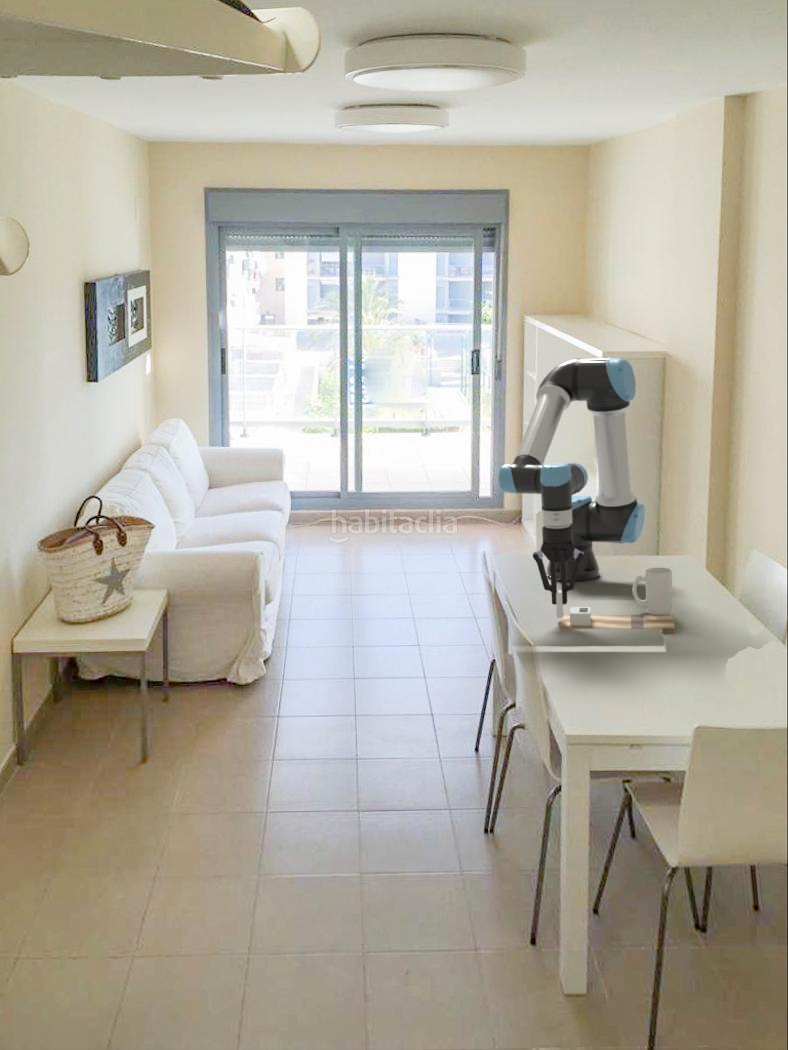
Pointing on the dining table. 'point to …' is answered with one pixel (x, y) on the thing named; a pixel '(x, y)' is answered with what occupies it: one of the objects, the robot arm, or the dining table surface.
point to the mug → (656, 590)
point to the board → (624, 622)
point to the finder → (580, 616)
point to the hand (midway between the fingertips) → (560, 616)
